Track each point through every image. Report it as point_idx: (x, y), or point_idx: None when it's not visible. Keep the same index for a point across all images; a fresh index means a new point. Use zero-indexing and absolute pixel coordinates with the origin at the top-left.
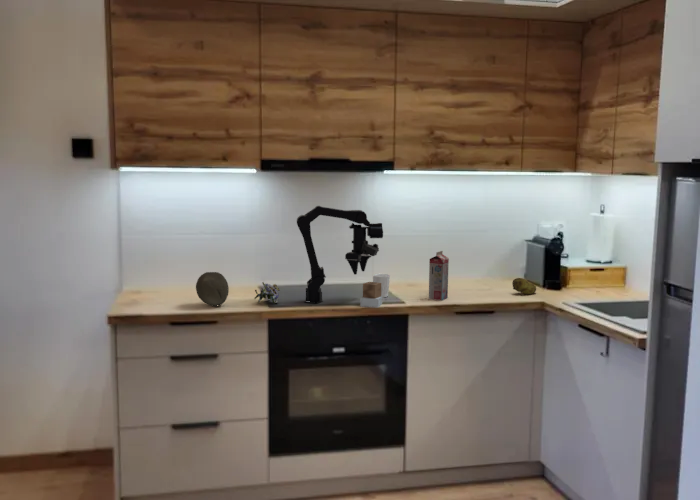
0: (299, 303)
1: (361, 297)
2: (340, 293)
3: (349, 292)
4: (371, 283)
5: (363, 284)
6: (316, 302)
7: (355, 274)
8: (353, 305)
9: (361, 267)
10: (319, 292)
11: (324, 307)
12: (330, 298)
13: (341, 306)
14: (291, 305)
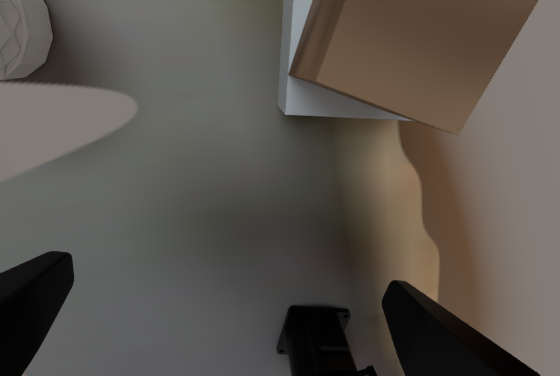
0: None
1: (392, 118)
2: None
3: (4, 258)
4: (449, 26)
5: (456, 126)
6: (349, 314)
7: (397, 288)
8: (363, 155)
9: (27, 353)
10: (348, 350)
11: (413, 265)
12: (218, 295)
13: (391, 207)
14: (382, 363)
